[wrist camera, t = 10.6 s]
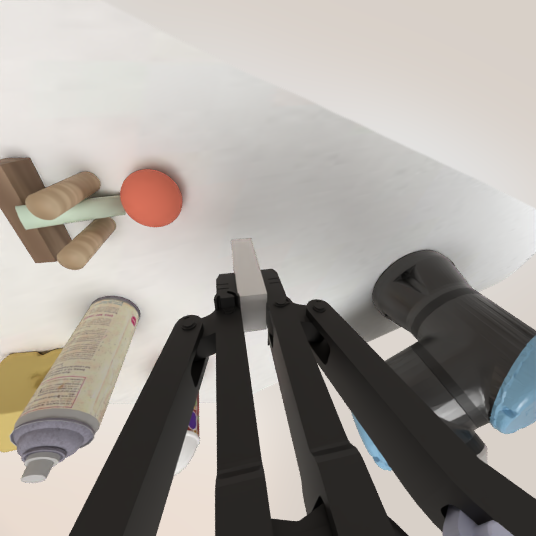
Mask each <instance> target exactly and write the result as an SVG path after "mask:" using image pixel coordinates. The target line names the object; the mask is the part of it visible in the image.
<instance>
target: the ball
mask: <svg viewBox="0 0 536 536" xmlns="http://www.w3.org/2000/svg"><path fill="white" fill-rule="evenodd" d="M120 198H121V203H122V206H123V208H124V209H125V211H126V212H127V214H128V215H129V216H130V217H131V218H132V219H133V220H135V221H136V222H138V223H140V224H142V225H145V226H149V227H162V226H165V225H168V224H170V223H171V222H173V221H174V220H175V219H176V218H177V217H178V215H179V214H180V211H181V208H182V195H181V192H180V190H179V188H178V186H177V184H176V183H175V182H174V181H173V180H172V179H171V178H170V177H169V176H167V175H166V174H164V173H162V172H159V171H157V170H152V169H143V170H138V171H136V172H134V173H132V174H130V175H129V176H128V177H127V178H126V179H125V180H124V182H123V184H122V187H121V191H120Z"/></svg>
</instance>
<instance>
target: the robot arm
mask: <svg viewBox="0 0 536 536" xmlns="http://www.w3.org/2000/svg"><path fill="white" fill-rule="evenodd" d="M231 245H232V257H233V270H234V273H228V274H219V276H218V278H217V279H216V285H217V286H216V289H217V294H216V295H215V297H214V303H215V311H214V312H213V313H212V314H210V315H208V316H206V317H204V318H200V317H198V316H196V315H188V316H185V317H182V318H181V319H179V320H178V321H177V323H176V324H175V326H174V328H173V330H172V332H171V334H170V336H169V338H168V340H167V342H166V344H165V346H164V348H163V350H162V352H161V354H160V356H159V358H158V360H157V362H156V364H155V366H154V368H153V370H152V372H151V374H150V376H149V378H148V380H147V382H146V384H145V385H144V387H143V389H142V391H141V393H140V395H139V397H138V399H137V401H136V403H135V405H134V407H133V410H132V411H131V413H130V415H129V417H128V419H127V421H126V423H125V425H124V427H123V429H122V431H121V433H120V435H119V437H118V439H117V441H116V443H115V445H114V447H113V449H112V451H111V453H110V455H109V457H108V459H107V461H106V463H105V465H104V467H103V469H102V471H101V473H100V475H99V477H98V479H97V481H96V483H95V485H94V487H93V489H92V491H91V493H90V495H89V497H88V499H87V500H86V503H85V504H84V507H83V508H82V510H81V512H80V514H79V516H78V518H77V520H76V522H75V524H74V527H73V528H72V530H71V532H70V534H69V536H156V533H157V530H158V527H159V523H160V520H161V516H162V513H163V510H164V507H165V503H166V500H167V497H168V493H169V490H170V486H171V483H172V480H173V476H174V473H175V470H176V466H177V463H178V460H179V456H180V453H181V450H182V446H183V443H184V439H185V436H186V433H187V429H188V426H189V423H190V419H191V416H192V413H193V409H194V406H195V403H196V399H197V396H198V392H199V389H200V386H201V382H202V379H203V376H204V372H205V369H206V366H207V362H208V359H209V356H210V355H213V354H215V353H216V402H217V477H216V485H215V487H216V488H215V536H408V535H407V534H406V533H405V532H404V531H403V530H402V529H401V528H400V527H399V526H398V525H397V524H396V523H395V522H394V521H393V520H392V519H391V518H389V517H388V516H387V514H386V512H385V509H384V507H383V505H382V502H381V500H380V498H379V496H378V493H377V491H376V488H375V486H374V484H373V481H372V479H371V477H370V474H369V472H368V470H367V467H366V465H365V463H364V460H363V458H362V456H361V454H360V453H359V451H358V450H357V448H356V447H355V446H353V445H352V444H351V443H350V442H349V440H348V438H347V436H346V434H345V431H344V429H343V427H342V424H341V422H340V419H339V417H338V414H337V412H336V409H335V407H334V404H333V402H332V399H331V397H330V394H329V392H328V389H327V387H326V384H325V382H324V380H323V377H322V375H321V372H320V370H319V368H318V365H319V366H320V368H321V369H322V370H323V372H324V373H325V375H326V376H327V378H328V379H329V380H330V382H331V383H332V385H333V386H334V387H335V389H336V390H337V392H338V393H339V395H340V396H341V397H342V399H343V400H344V402H345V403H346V405H347V406H348V407H349V409H350V410H351V412H352V416H353V419H354V422H355V424H356V427H357V429H358V432H359V434H360V436H361V439H362V441H363V443H364V445H365V447H366V449H367V450H368V452H369V454H370V455H371V456H372V457H373V459H374V461H375V463H376V464H377V465H378V466H379V467H380V468H382V469H383V470H389V471H391V470H393V471H394V473H395V475H396V476H397V477H398V479H399V480H400V482H401V483H402V484H403V486H404V487H405V489H406V490H407V491H408V492H409V494H410V495H411V497H412V498H413V499H414V500H415V502H416V503H417V505H418V506H419V507H420V508H421V509H422V510H423V512H424V513H425V514H426V515H427V516H428V517H429V518H430V520H431V521H432V522H433V523H434V524H435V525H436V526H437V527H438V528H439V529H440V530H441V531H442V532H443V536H536V499H535V498H533V497H532V496H531V495H529V494H528V493H526V492H525V491H524V490H522V489H521V488H519V487H518V486H517V485H515V484H514V483H513V482H511V481H510V480H508V479H507V478H506V477H504V476H503V475H501V474H500V473H499V472H497V471H496V470H494V469H493V468H492V467H490V466H489V465H488V464H487V446H486V445H485V444H484V443H483V441H482V440H481V439H480V438H479V436H478V435H477V434H476V433H475V431H474V430H475V429H477V428H478V427H481V426H483V425H485V424H487V423H491V425H492V426H493V427H494V428H495V429H497V430H499V431H500V432H501V433H504V434H510V433H514V432H515V431H517V430H519V429H521V428H525V427H526V426H528V425H530V424H532V423H533V422H535V421H536V331H535V330H534V329H532V328H531V327H529V326H528V325H526V324H525V323H523V322H522V321H520V320H519V319H518V318H516V317H515V316H513V315H512V314H510V313H508V312H507V311H506V310H504V309H503V308H501V307H499V306H498V305H497V304H495V303H494V302H492V301H491V300H489V299H488V298H486V297H485V296H483V295H482V294H480V293H479V292H477V291H476V290H474V289H473V288H472V287H471V286H470V285H469V284H468V282H467V281H466V280H465V278H464V277H463V276H462V275H461V273H460V272H459V271H458V270H457V268H456V267H455V265H454V264H453V262H452V261H451V260H449V259H448V258H446V257H445V256H443V255H442V254H440V253H438V252H436V251H431V250H424V251H418V252H415V253H412V254H409V255H407V256H405V257H403V258H401V259H400V260H398V261H397V262H395V263H394V264H392V265H391V266H390V267H389V268H388V269H387V270H386V271H385V272H384V273H383V274H382V275H381V277H380V278H379V280H378V281H377V283H376V285H375V287H374V290H373V303H374V305H375V306H376V308H377V309H378V310H379V311H380V312H381V314H382V315H383V316H385V317H386V318H388V319H390V320H392V321H393V322H395V323H396V324H398V325H399V326H401V327H403V328H404V329H406V330H408V331H409V332H411V333H412V334H413V335H414V337H415V338H416V339H417V340H418V342H416V343H415V344H413V345H411V346H409V347H408V348H406V349H404V350H403V351H401V352H400V353H398V354H396V355H394V356H393V357H391V358H389V359H387V360H386V361H384V360H383V359H382V358H381V357H380V356H379V355H378V354H377V353H376V352H375V351H374V350H373V349H372V348H371V347H370V346H369V345H368V344H367V343H366V342H365V341H364V340H363V339H362V338H361V337H360V336H359V335H358V334H357V333H356V331H355V330H354V329H353V328H352V327H351V326H350V325H349V324H348V323H347V322H346V321H345V320H344V319H343V318H342V317H341V316H340V315H339V314H338V313H337V312H336V311H335V310H334V309H333V308H332V307H331V306H330V305H329V304H328V303H327V302H325V301H323V300H317V299H316V300H311V301H309V302H308V304H307V305H299V304H295V303H293V302H292V301H291V300H290V299H289V298H288V297H286V294H285V291H284V289H283V286H282V284H281V281H280V279H279V276H278V274H277V272H276V271H274V270H273V269H266V270H260V267H259V264H258V260H257V257H256V254H255V250H254V247H253V243H252V240H251V238H248V239H233V240H231ZM266 328H268V345H270V347H271V352H272V356H273V360H274V365H275V369H276V373H277V377H278V382H279V386H280V390H281V394H282V399H283V403H284V407H285V411H286V415H287V420H288V424H289V428H290V433H291V437H292V441H293V445H294V449H295V454H296V458H297V462H298V466H299V471H300V476H301V481H302V491H303V497H304V503H305V507H306V512H307V516H305V517H304V518H303V519H301V520H300V521H287V520H279V519H271V516H270V510H269V502H268V495H267V487H266V481H265V474H264V469H263V465H262V460H261V452H260V445H259V437H258V430H257V423H256V416H255V408H254V401H253V394H252V387H251V379H250V372H249V365H248V357H247V350H246V343H245V336H244V332H250V331H257V330H264V329H266ZM317 363H318V365H317Z"/></svg>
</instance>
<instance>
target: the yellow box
mask: <svg viewBox="0 0 536 536" xmlns="http://www.w3.org/2000/svg"><path fill="white" fill-rule="evenodd" d="M62 350H63V348H62V349H56V350H52V351H50V352H48V353H47V354H44V355H41V354H39V353H38V352H25V353H13V354H10V355H9V356H8V357H6V358H5V359H4V360H3V361H2V362H1V363H0V451H1V452H9V451H13V450H17V446H15V445H14V444H13V443H12V442H11V441H10V437H9V436H10V434H11V433H12V431H13V430H14V426H15V423H16V421H17V420H18V418H19V417H20V415H21V414H22V412H23V410H24V409H25V407H26V406H27V404H28V403H29V401H30V400H31V398H32V396H33V395H34V393H35V392H36V390H37V389H38V387H39V386H40V384H41V382H42V381H43V379H44V378H45V376H46V375H47V373H48V372H49V370H50V368H51V367H52V365H53V364H54V362H55V361H56V359H57V357H58V356H59V354H60V353H61V351H62Z"/></svg>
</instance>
